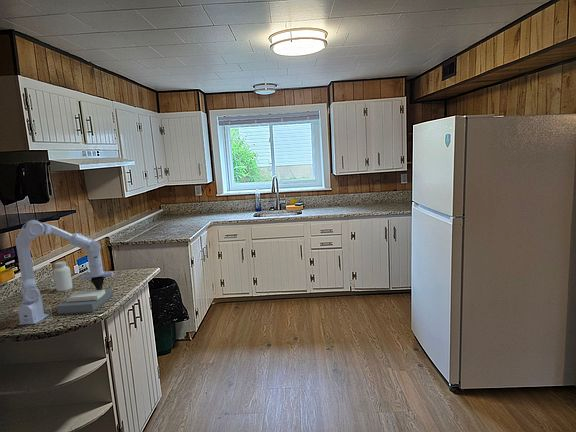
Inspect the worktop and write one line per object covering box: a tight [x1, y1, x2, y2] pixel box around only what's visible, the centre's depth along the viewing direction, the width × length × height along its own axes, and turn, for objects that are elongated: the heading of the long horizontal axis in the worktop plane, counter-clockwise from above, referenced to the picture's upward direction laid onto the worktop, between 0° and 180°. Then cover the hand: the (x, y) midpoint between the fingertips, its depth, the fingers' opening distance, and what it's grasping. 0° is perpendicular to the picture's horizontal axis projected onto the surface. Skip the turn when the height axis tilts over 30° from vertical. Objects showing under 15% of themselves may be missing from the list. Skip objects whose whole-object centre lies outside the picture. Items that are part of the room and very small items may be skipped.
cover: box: [65, 289, 105, 302], centre depth 184 cm, size 8×14×2 cm, turn 91°
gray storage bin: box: [56, 288, 114, 315], centre depth 186 cm, size 20×16×4 cm
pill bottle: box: [52, 261, 73, 292], centre depth 211 cm, size 8×8×15 cm
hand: (99, 291), depth 189 cm, fingers closed, pressing on cover
